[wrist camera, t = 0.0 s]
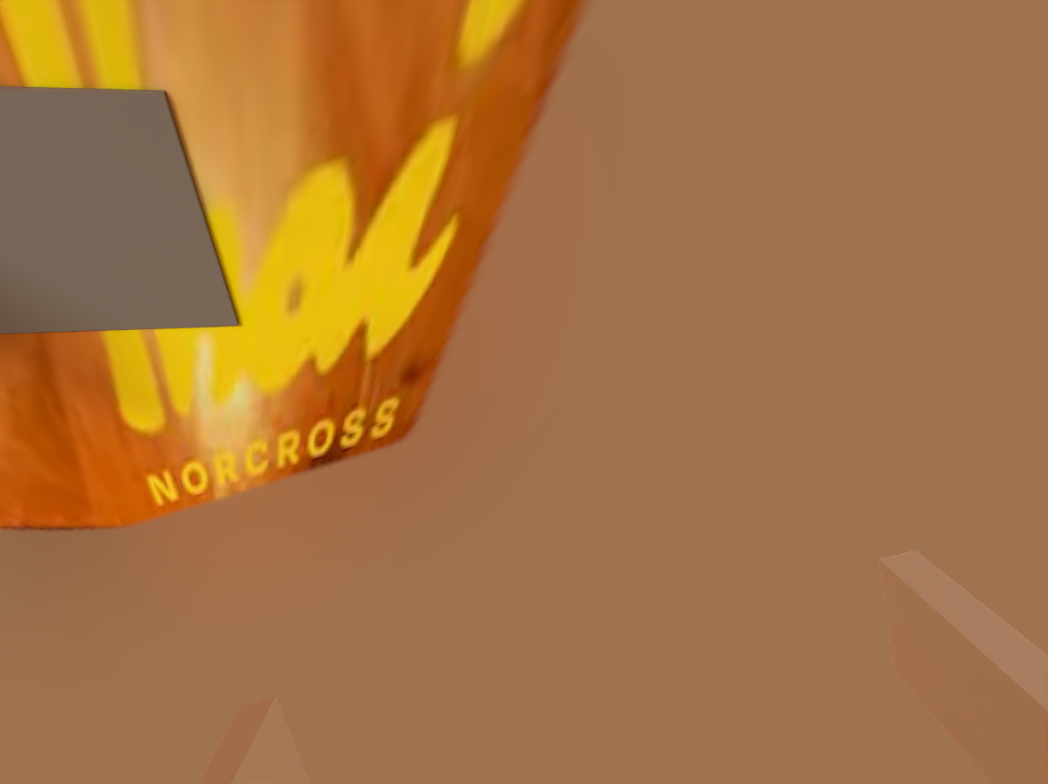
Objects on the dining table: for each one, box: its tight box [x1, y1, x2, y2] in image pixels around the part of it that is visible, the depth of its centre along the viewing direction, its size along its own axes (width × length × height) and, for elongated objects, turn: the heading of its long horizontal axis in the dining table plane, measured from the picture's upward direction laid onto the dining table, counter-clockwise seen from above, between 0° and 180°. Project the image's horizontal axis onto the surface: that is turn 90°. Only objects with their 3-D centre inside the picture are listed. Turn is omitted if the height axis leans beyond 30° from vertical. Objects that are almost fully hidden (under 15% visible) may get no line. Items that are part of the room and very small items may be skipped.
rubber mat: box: [0, 86, 238, 334], centre depth 41 cm, size 24×18×1 cm
